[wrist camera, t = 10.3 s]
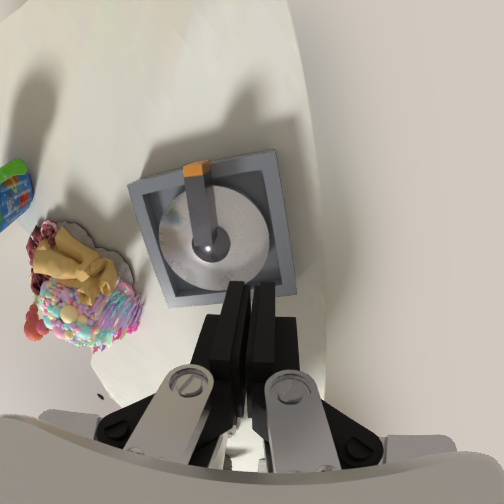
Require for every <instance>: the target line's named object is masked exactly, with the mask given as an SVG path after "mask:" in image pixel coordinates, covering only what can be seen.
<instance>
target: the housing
mask: <svg viewBox="0 0 504 504" xmlns="http://www.w3.org/2000/svg"><path fill="white" fill-rule="evenodd" d="M210 170H211V173H212V182H213V183H223V184H227V185H231V186H233V187H236V188H238V189H240V190H242V191H244V192H245V193H246V194H248V195H249V196H250V197H251V198H253V199H254V200H255V201H256V203H257V204H258V205H259V206H260V208H261V209H262V211H263V213H264V215H265V217H266V219H267V222H268V226H269V233H270V241H269V251H268V256H267V259H266V261H265V263H264V265H263V267H262V269H261V270H260V271H259V273H258V274H257V275H256V276H255V277H254V278H253V279H251V280H250V281H249V282H247V283H246V284H245V285H250V288H251V300H253V295H254V287H255V285H260V283H261V282H275V297H281V296H289V295H296V294H297V288H296V280H295V272H294V265H293V258H292V251H291V244H290V238H289V231H288V224H287V218H286V212H285V205H284V199H283V193H282V187H281V181H280V176H279V170H278V164H277V159H276V153H275V149H273V150H267V151H261V152H255V153H250V154H244V155H239V156H234V157H229V158H224V159H219V160H214V161H210ZM127 187H128V190H129V194H130V197H131V201H132V204H133V207H134V211H135V214H136V217H137V221H138V224H139V227H140V230H141V233H142V236H143V239H144V242H145V245H146V248H147V251H148V254H149V257H150V260H151V262H152V265H153V268H154V271H155V273H156V276H157V279H158V281H159V284H160V287H161V289H162V292H163V295H164V297H165V300H166V302H167V305H168V307H169V308H176V307H188V306H199V305H210V304H220V303H224V299H225V295H226V292H227V290H221V291H216V290H207V289H203V288H199V287H197V286H194V285H192V284H190V283H188V282H187V281H185V280H184V279H182V278H181V277H180V276H178V275H177V274H176V273H175V272H174V271H173V270H172V268H171V267H170V266H169V264H168V263H167V261H166V260H165V258H164V256H163V253H162V251H161V247H160V242H159V226H160V222H161V218H162V216H163V214H164V212H165V210H166V208H167V207H168V206H169V204H170V203H171V202H172V201H173V200H174V199H175V198H176V197H178V196H179V195H180V194H181V193H183V192H184V191H186V190H185V184H184V171H183V168H179V169H175V170H171V171H167V172H164V173H160V174H156V175H152V176H149V177H145V178H142V179H139V180H137V181H134V182H132V183H130V184H128V185H127Z"/></svg>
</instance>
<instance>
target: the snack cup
mask: <svg viewBox="0 0 504 504" xmlns="http://www.w3.org/2000/svg"><path fill="white" fill-rule="evenodd" d="M29 177H30V176H29V174H28V173H27V167H26V165H25V163H24V162H23V161H22V160H21V159H19V158H17V159H14V160H13V161H11V162H9V163H8V164H6V165H5V166H3V167H1V168H0V232H2V231H3V230H4V229H5V228H6V227H7V226H9V225H10V224H11V223H12V222H13V221H14V220H15V219H17V218H18V217H19V216H20V215H21V214H23V213H24V212H25V211H26V210H27V209H28V208H29V206H30V203H31V201H32V199H33V195H32V186H31V181H30V178H29Z"/></svg>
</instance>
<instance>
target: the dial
mask: <svg viewBox="0 0 504 504" xmlns="http://www.w3.org/2000/svg"><path fill="white" fill-rule="evenodd" d="M183 171H184V184H185V190H186V191H184V192H183V193H181V194H180V195H179V196H178V197H176V198H175V199H174V200H173V201H172V202H171V203H170V204H169V206H168V207H167V208H166V210H165V212H164V214H163V216H162V218H161V222H160V226H159V242H160V247H161V251H162V253H163V256H164V258H165V260H166V261H167V263H168V264H169V266H170V267H171V268H172V270H173V271H174V272H175V273H176V274H177V275H178V276H180V277H181V278H182V279H184V280H185V281H187V282H188V283H190V284H192V285H194V286H197V287H199V288H203V289H207V290H216V291H221V290H227V288H228V285H229V281H245V284H246V283H247V282H249V281H250V280H251V279H253V278H254V277H255V276H256V275H257V274H258V273H259V271H260V270H261V269H262V267H263V265H264V263H265V261H266V259H267V256H268V251H269V241H270V233H269V226H268V222H267V219H266V217H265V215H264V213H263V211H262V209H261V208H260V206H259V205H258V204H257V203H256V201H255V200H254V199H253V198H251V197H250V196H249V195H248V194H246V193H245V192H244V191H242V190H240V189H238V188H236V187H233V186H231V185H227V184H223V183H213V182H212V173H211V170H210V161H209V160H202V161H194V162H191V163H189V164H187V165H185V166H183Z"/></svg>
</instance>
